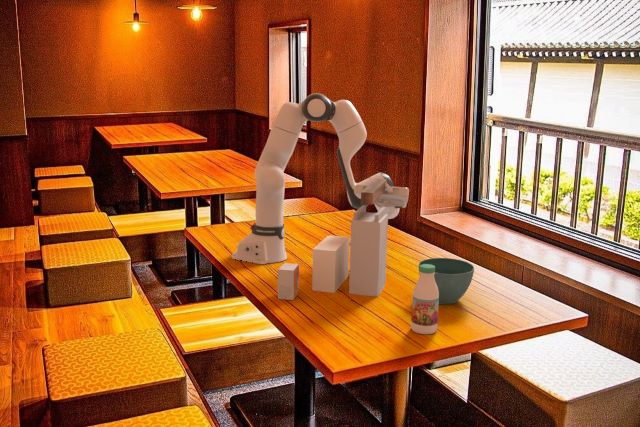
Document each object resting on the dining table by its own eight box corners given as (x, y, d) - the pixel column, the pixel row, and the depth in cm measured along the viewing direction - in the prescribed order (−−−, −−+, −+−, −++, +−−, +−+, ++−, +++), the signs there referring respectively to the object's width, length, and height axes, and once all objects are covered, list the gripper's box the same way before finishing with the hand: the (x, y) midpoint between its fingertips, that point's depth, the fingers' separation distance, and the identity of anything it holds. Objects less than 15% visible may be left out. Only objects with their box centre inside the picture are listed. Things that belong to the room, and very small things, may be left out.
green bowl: (460, 314, 210) (462, 277, 208) (408, 302, 220) (409, 267, 217) (479, 297, 225) (481, 263, 223) (429, 288, 235) (431, 254, 232)
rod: (360, 203, 221) (361, 192, 220) (375, 189, 243) (375, 178, 242) (372, 204, 220) (372, 193, 219) (386, 190, 242) (386, 179, 241)
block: (312, 290, 230) (312, 249, 227) (327, 273, 249) (328, 235, 246) (334, 292, 228) (335, 251, 225) (348, 275, 247) (349, 237, 243)
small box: (293, 300, 220) (293, 270, 218) (277, 299, 221) (277, 269, 219) (299, 292, 228) (299, 263, 225) (283, 291, 229) (283, 262, 226)
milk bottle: (408, 325, 200) (411, 262, 196) (433, 324, 201) (436, 261, 197) (414, 335, 193) (417, 270, 189) (440, 334, 194) (443, 269, 189)
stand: (349, 293, 227) (351, 213, 221) (358, 281, 241) (360, 204, 234) (377, 296, 225) (380, 215, 218) (385, 284, 238) (388, 207, 232)
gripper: (358, 188, 254) (351, 175, 241) (411, 192, 248) (407, 179, 236) (356, 204, 252) (349, 191, 240) (409, 208, 247) (405, 195, 234)
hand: (378, 185), depth 238 cm, fingers closed on rod, 4 cm apart
